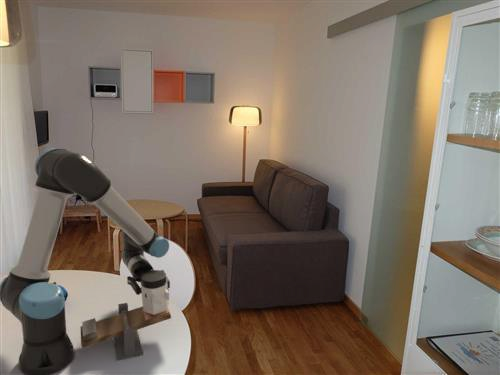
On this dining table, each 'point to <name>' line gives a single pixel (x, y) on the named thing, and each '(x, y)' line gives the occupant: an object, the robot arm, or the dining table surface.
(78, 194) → the robot arm
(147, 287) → the jar
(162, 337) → the dining table surface
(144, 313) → the beam
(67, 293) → the ornament
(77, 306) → the dining table surface
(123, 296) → the dining table surface
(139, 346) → the pivot stand
